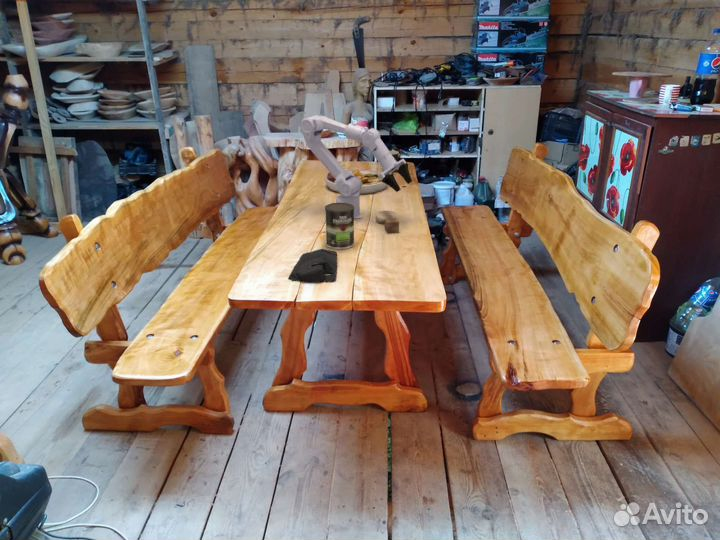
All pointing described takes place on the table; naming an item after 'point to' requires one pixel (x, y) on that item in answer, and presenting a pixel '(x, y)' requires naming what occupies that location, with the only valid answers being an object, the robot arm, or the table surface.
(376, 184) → the bowl
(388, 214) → the birch round
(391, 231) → the walnut cube
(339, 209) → the coffee can
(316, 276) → the dark slate chunk
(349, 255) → the table surface
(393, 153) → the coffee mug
